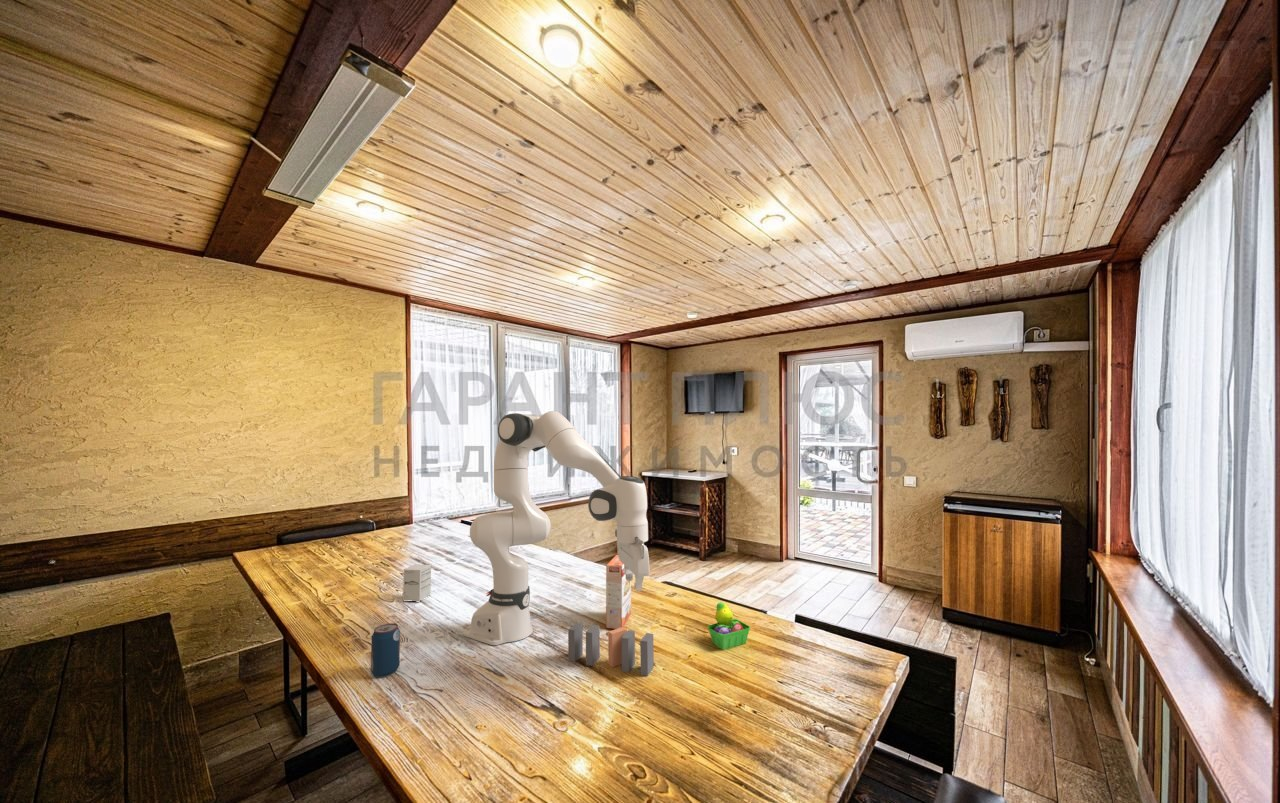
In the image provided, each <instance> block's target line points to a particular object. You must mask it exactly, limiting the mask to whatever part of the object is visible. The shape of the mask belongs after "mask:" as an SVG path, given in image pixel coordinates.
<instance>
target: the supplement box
mask: <svg viewBox="0 0 1280 803" xmlns="http://www.w3.org/2000/svg"><path fill="white" fill-rule="evenodd" d="M431 578H432V564H419V563H418V564H416V563H414V564H413V565H410V566H408V567H405V568H404V569H403V588H402V591H403V592H402V601H403V600H412V601H420V600H422V599H424V598H426V597H428V596H430V597H431V586H432V584H431V583H432V579H431ZM428 598H429V597H428Z"/></svg>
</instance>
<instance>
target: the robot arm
mask: <svg viewBox="0 0 1280 803" xmlns="http://www.w3.org/2000/svg"><path fill="white" fill-rule="evenodd" d="M497 435H498V438H499V439H500V440H499V441H498V442H497V443H496V446H495V448H496V449H495V451H494V452H495V454H494V461H493V492H494V494H495V496H496V497H497V498H498V499H499V500H501V501H504V502H505V503H508V504H510V505H512V508H513V510H512V511H508V512H507V511H506V512H494V513H493V512H491V513H487V514H483V515H480V516H477V517H475V519H474V520H473V521H472V523H471V525H470V528H469V537H470V540H471V542H472V544H473V545H474V546H475V547H477V548H478V549H480V550H481V551H483V553H484V554H485V556H487V558H488V559H489V561H490V564H491V568H492V569H491V570H492V577H493V580H492V581H493V588H492V589H490V591H487V592H486V595H485V596H486V597H489V598H488V601H486V602H485V603H484V604H483V605H481V606H480V607H479V608H478V609H476V610H475V612H474V613H473V614H472V617H471V621H470V624H469V625H468V626H467V627H466V628H465V629H464V630H463V633H462V635H463V636H464V637H466V638H469V639H473V640H476V641H478V642H481V643H484V644H488V645H490V646H498V645H501V644H505V643H513V642H516V641H520V640H523V639H526V638H528V637H529V636H530V635H532V634H533V632H534V627H533V623H532V620H531V614H530V601H531V600H530V598H531V596H530V594H531V592H530V591H531V590H530V586H529V564H528V562H527V560H525V558H523V557H522V556H519V555H516V554H514V553H512V552H511V551H510V550H509V549H510V548H511V547H516V546H524V545H526V546H527V545H534V544H537V543H540V542H544V541H546V540H547V539H548V537H549V535H550V533H551V529H552V524H551V519H550V517H549V516H548V515H547V513H546V512H545V511H543V510H541V509H540V507H538V505H536V503H535V502H534V500H533V498H532V497H531V493H530V488H529V480H528V479H529V478H528V477H529V475H528V473H529V472H528V470H529V469H528V456H529V454H530V453H531V452H532V451H533V452H535V453H536V452H538V451H540V450H542V449H545V448H546V449H547V451H548V453H549V454H550V456H551V457H552V458H553V459H554V461H556V462H557V463H558V464H559V465H561V466H562V467H566V468H571V469H575V470H580V471H583V472H586V473H588V474H590V475H592V476H593V477H594V478H595V479H596V480H597V481H598V483H600V485H601V486H602V487H601V488H597V489H595V490H593V491H592V492H591V494H590V495H589V497H588V502H587V506H588V511H589V513H590V515H591V517H592V519H594V520H596V521H599V522H608V521H612V520H615V522H616V529H614V537H616V544H617V555H618V556H619V560H620V561H621V562H622V563H623V564H624V569H625V574H626V580H627V581H631V582H632V581H633V579H635V580H634V581H635V582H633V584H634V590H636V591H642V590H643V582H644V577H648V576H650V571H651V570H650V556H649V550H648V547H647V545H645V543H646V542H648V541H649V522H648V519H647V512H648V511H647V510H648V494H647V487H646V484H645V482H644V480H643V479H641V478H640V477H637V476H632V475H622V476H621V475H620V474H619V473H618V471H616V470H615V469H614V468H613V466H612V465H611V464H610V463H609V462H608V461H607V460H606V459H605V458H604V457H603V455H601V454H600V453H599V452H598V451H597V450H596V449H594V448H593V447H592V445H590V443H588V442H587V441H586V440H585V439H584V437H582V435H580V433H579V432H578V430H577V429H576V428H575V427H574V425H573V424H572V423H571V422H570V421H569V420H568V419H567V418H566V417H565V416H564V415H563V414H562V413H560V412H558V411H556V410H550V411H547V412H544V413H543V414H542V415H536V414H526V413H525V414H523V413H518V412H515V413H507V414H506V415H504V416H503V417H502V418H501V419H500V420H499V423H498V426H497ZM633 575H634V576H633ZM633 577H634V578H633Z"/></svg>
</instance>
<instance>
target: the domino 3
mask: <svg viewBox="0 0 1280 803" xmlns="http://www.w3.org/2000/svg"><path fill="white" fill-rule="evenodd" d="M627 631H628V629H627V628H625V627H624V626H623V627H621V628H618V629H611V630H609V631H607V632H608V633H607V634H608V635H607V636H608V637H607V638H608V642H607V644H608V645H607V646H608V649H607V650H608V655H607V656H608V659H607V660H608V666H610V667H612V668H614V667H617V666H619V665H622V637H623V635H624V634H625V633H626V632H627Z"/></svg>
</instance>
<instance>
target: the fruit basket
mask: <svg viewBox="0 0 1280 803" xmlns="http://www.w3.org/2000/svg"><path fill="white" fill-rule="evenodd" d="M714 616H715V621H716V623H713V624H709V625H707V629H708V632H709V633H710V638H711V641H712V643H713V645H715V646H717V648H720V649H721V650H723V651H724V650H728V649H731V648H734V647H737V646H738V647H739V646H741V645H745V644H747V640H748V635H749V634H750V633H749V632H750V630H751V626H750V625H749V624H747V623H745V622H743V621H741V620H739V619H738V618H734V613H733V612H732V610H731V609H730V608H729V607H728V606H727V604H726V603H724V602H718V603H717V604H716V611H715V615H714Z"/></svg>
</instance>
